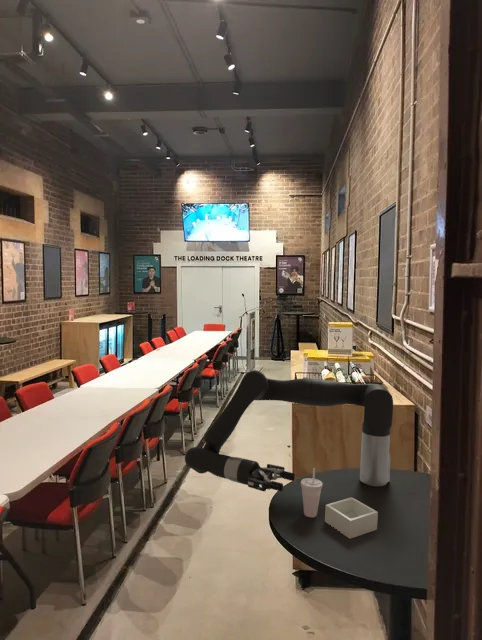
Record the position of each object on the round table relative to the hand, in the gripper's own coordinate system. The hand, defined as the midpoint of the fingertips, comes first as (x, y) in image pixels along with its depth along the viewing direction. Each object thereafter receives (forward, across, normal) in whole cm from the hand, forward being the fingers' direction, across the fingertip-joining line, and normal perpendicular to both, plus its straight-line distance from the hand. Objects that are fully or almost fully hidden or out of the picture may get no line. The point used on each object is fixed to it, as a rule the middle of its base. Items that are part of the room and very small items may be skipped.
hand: (288, 482), depth 141 cm
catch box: (+19, 0, +8) cm, 21 cm away
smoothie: (+7, 0, +8) cm, 11 cm away
